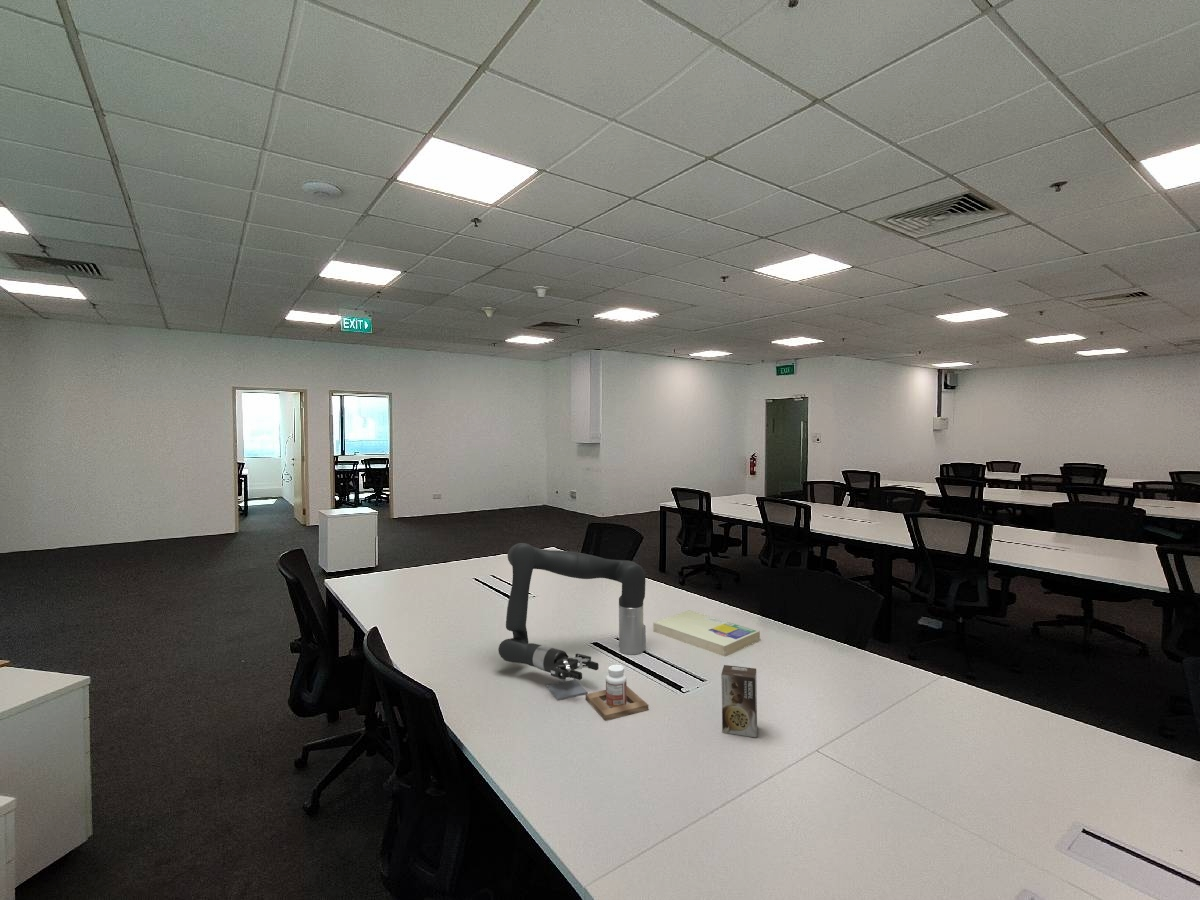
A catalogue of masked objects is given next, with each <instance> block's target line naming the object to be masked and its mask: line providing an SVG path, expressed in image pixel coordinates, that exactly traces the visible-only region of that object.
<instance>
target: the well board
mask: <svg viewBox="0 0 1200 900" xmlns="http://www.w3.org/2000/svg"><path fill="white" fill-rule="evenodd" d="M626 690H627V703H626V705H622V706H618V707H614V708H610V707H608V706H607V704H606V689H603V690H599V691H595V692H590V693H588V694H585V700H586V701H587V703H588V704H589V705H591V707H592V708H593V709H594V710H595V711H596V712H597V713H598V714H599V715H600V717H602V719H603V720H604V721H605V722H606V721H608V720H613V719H618V718H621V717H625V716H630V715H634V714H638V713H642V712H644V711H645V712H646V711H648V710H649V704H648V703H647V702H646V701H645V700H644V699H642V698H641V697H640V696H639V695H638V694H637V693H636V692H634V690H632V689H631V688H630V687H629V686H627V685H626Z"/></svg>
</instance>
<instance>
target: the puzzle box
mask: <svg viewBox="0 0 1200 900" xmlns="http://www.w3.org/2000/svg"><path fill="white" fill-rule="evenodd" d="M652 627H653V632H654V633H656V634H659V635H662V636H665V637H668V638H672V639H674V640H676V641H680V642H681V643H682V642H683V643H684V644H688V645H691V646H694V647H696V648H700V649H702V650H705V651H708V652H711V653H714V654H716V655H719V656H722V657H726V656H729V655H730V654H733V653H735V652H738V651H740V650H742V649H744V647H745V648H746V646H747V647H749V646H751V645H753V644H756V643H757V641H758V642H760V640H761V639H760V637H761V636H760V635H761V634H760V633H761V632H760V630H756V629H754V628H750V627H747V626H744V625H740V624H737V623H734V622H731V621H730V622H729V621H727V620H725V619H720V618H717V617H714V616H710V615H707V614H704V613H700V612H697V611H693V610H686V611H684V612H680V613H677V614H674V615H672V616H668V617H664V618H663V619H662V618H661V619H660V620H655V621H654V622H653V625H652ZM755 642H756V643H755ZM752 643H753V644H752ZM750 644H751V645H750ZM748 645H749V646H748Z"/></svg>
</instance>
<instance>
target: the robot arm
mask: <svg viewBox="0 0 1200 900" xmlns="http://www.w3.org/2000/svg"><path fill="white" fill-rule="evenodd" d="M507 560H508V563H509V564H510V566H511V567H512V581H511V582H512V584H511V588H510V593H509V598H508V601H507V608H506V609H507V610H506V620H505V629H506V630H507V631H509V632H512V635H513V636H512V637H511V638H506V639H504V640H502V641H501V642H500V644H499V645H498V650H497V651H498V655H499V656H500V658H501V659H502V660H503V661H506V662H509V663H513V664H514V663H516V664H524V665H526V666H531V667H532V668H535V669H536V668H537V669H539V670H540V671H543V672H545V673H546V672H547V673H550V676H551V677H555V678H556V679H560V680H561V681H567V679H576V680H577V681H581V680H583V673H582V672H581V671H579V670H582V669H584V668H585V669H587V668H588V669H590V670H593V671H598V670H599V663H598V662H596V661H593V660H592V656H591V655H590V656H589V655H586V654H581V653H575V654H574V655H575V656H569V655H568V654H567V652H566V651H564V650H562V649H558V648H554V647H551V646H547V645H541V644H538V643H535V642H534V643H532V642H529V636H528V628H527V621H528V620H527V618H528V609H529V608H528V606H529V605H528V604H529V596H530V595H529V594H530V587H531V581H532V575H533V570H542V571H546V572H550V573H552V574H553V573H554V574H557V575H559V576H564V577H569V578H573V579H580V580H592V579H593V580H594V579H605V580H606V579H607V580H611V581H615V582H618V583H621V595H620V596H619V597H618V651H619V652H621V654H625V655H638V654H642V652H644V651H646V649H647V648H646V646H647V645H646V643H647V642H646V641H647V640H646V637H647V636H646V632H647V631H646V630H647V629H646V628H647V627H646V625H645V624H644V600H645V598H646V573H645V570H644V568H643V567H642V566H641V565H639V564H638V563H636V562H635V561H632V560H626V559H623V560H622V559H610V558H604V557H600V556H597V555H592V554H587V553H582V552H578V551H572V550H571V551H570V550H553V549H551V550H550V549H543V548H540V547H536V546H533V545H531V544H529V543H524V542H520V543H516V544H513V545H512V546H511V547H510V548H509V549H508V552H507Z"/></svg>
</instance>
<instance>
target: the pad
mask: <svg viewBox="0 0 1200 900" xmlns="http://www.w3.org/2000/svg"><path fill="white" fill-rule="evenodd" d="M546 688H547V689H548V691H549V692H550V693H551V694H552V695H553V697H554V698H555V700H557V701H561V700H565V699H570V698H574V697H575V698H576V697H579V696H583V695H586V694H589V693H588V691H587V689H586V688H584V686H583V685H582V684H581V683H580V682H579V680H577V679H574V678H572V679H569V680H563V681H560V682H556V683H555V682H554V683H549V684H546Z"/></svg>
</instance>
